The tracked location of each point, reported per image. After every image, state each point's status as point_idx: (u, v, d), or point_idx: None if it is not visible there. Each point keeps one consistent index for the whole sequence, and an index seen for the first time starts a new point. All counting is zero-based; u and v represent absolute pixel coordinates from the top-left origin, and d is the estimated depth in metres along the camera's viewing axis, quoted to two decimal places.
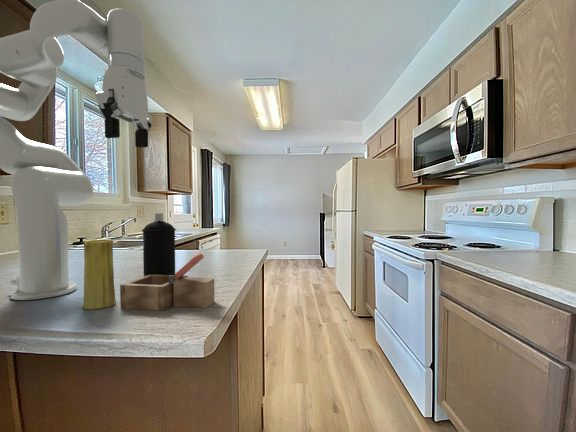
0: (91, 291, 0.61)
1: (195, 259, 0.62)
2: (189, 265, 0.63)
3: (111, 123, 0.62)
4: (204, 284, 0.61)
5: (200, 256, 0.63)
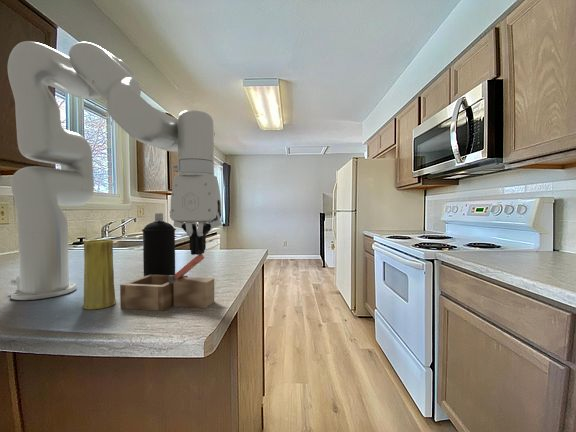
0: (91, 291, 0.61)
1: (195, 260, 0.62)
2: (189, 265, 0.63)
3: (205, 241, 0.64)
4: (204, 284, 0.61)
5: (201, 257, 0.63)
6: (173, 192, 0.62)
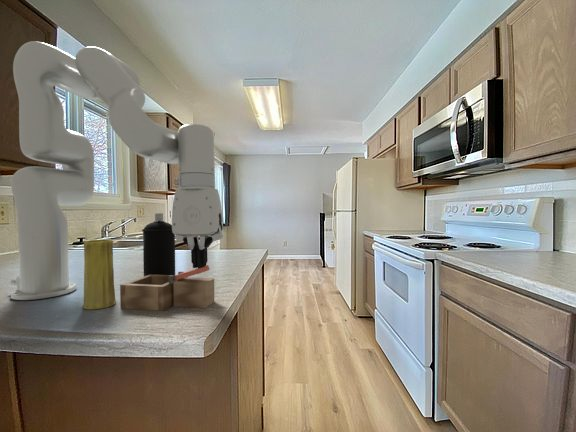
0: (91, 291, 0.61)
1: (201, 270, 0.62)
2: (193, 273, 0.63)
3: None
4: (204, 284, 0.61)
5: (206, 269, 0.63)
6: (174, 206, 0.62)
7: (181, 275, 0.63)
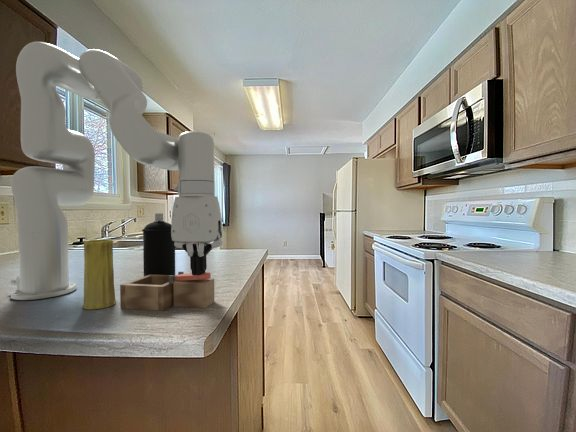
0: (91, 291, 0.61)
1: (202, 277, 0.62)
2: (194, 278, 0.63)
3: None
4: (204, 284, 0.61)
5: (208, 277, 0.63)
6: (174, 213, 0.62)
7: (182, 277, 0.63)
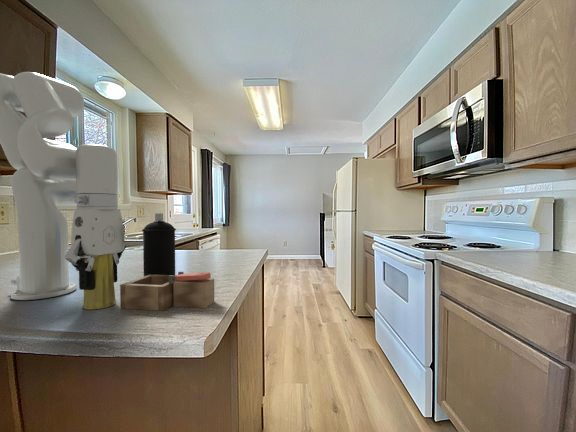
0: (91, 291, 0.61)
1: (202, 278, 0.62)
2: (194, 278, 0.63)
3: None
4: (204, 284, 0.61)
5: (208, 277, 0.63)
6: (93, 226, 0.59)
7: (182, 277, 0.63)
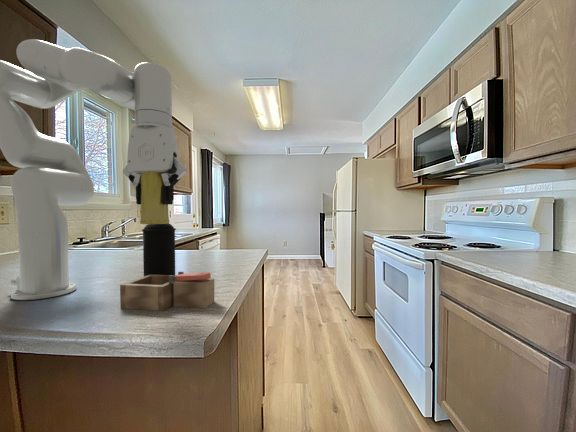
0: None
1: (202, 278, 0.62)
2: (194, 278, 0.63)
3: (173, 192, 0.65)
4: (204, 284, 0.61)
5: (208, 277, 0.63)
6: (130, 143, 0.63)
7: (182, 277, 0.63)
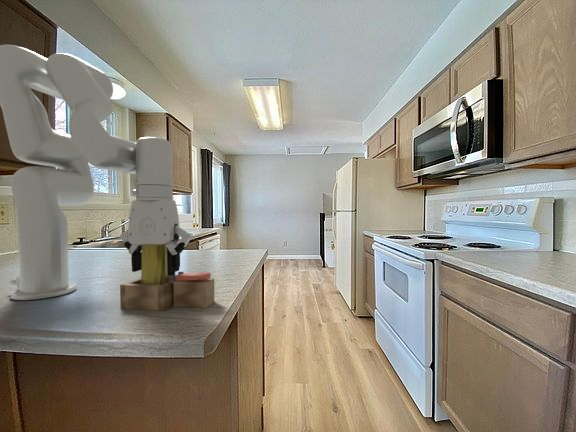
0: None
1: (202, 278, 0.62)
2: (194, 278, 0.63)
3: (179, 259, 0.65)
4: (204, 284, 0.61)
5: (208, 277, 0.63)
6: (131, 216, 0.64)
7: (182, 277, 0.63)
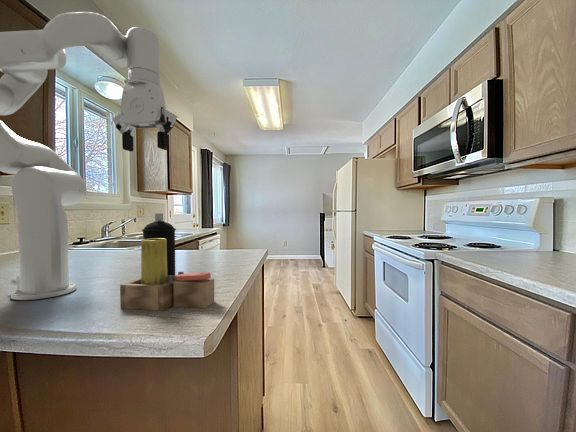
0: None
1: (202, 278, 0.62)
2: (194, 278, 0.63)
3: (167, 138, 0.74)
4: (204, 284, 0.61)
5: (208, 277, 0.63)
6: (123, 98, 0.72)
7: (182, 277, 0.63)
